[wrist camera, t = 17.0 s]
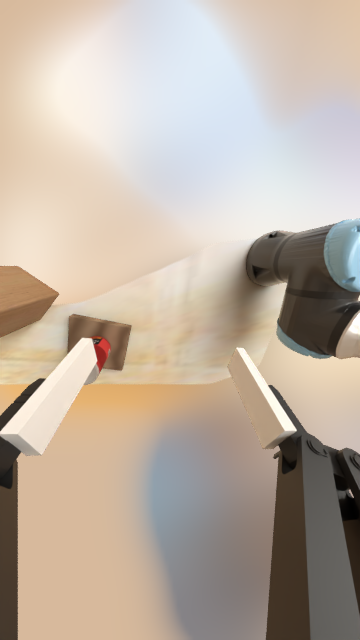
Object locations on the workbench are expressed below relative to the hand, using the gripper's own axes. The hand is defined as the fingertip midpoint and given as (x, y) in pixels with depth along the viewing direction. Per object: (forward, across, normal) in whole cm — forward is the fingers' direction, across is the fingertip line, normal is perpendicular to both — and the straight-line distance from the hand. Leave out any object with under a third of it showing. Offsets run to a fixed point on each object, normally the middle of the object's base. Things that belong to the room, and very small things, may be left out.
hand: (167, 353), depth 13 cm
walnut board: (+25, -20, -22) cm, 39 cm away
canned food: (+23, -20, -22) cm, 38 cm away
